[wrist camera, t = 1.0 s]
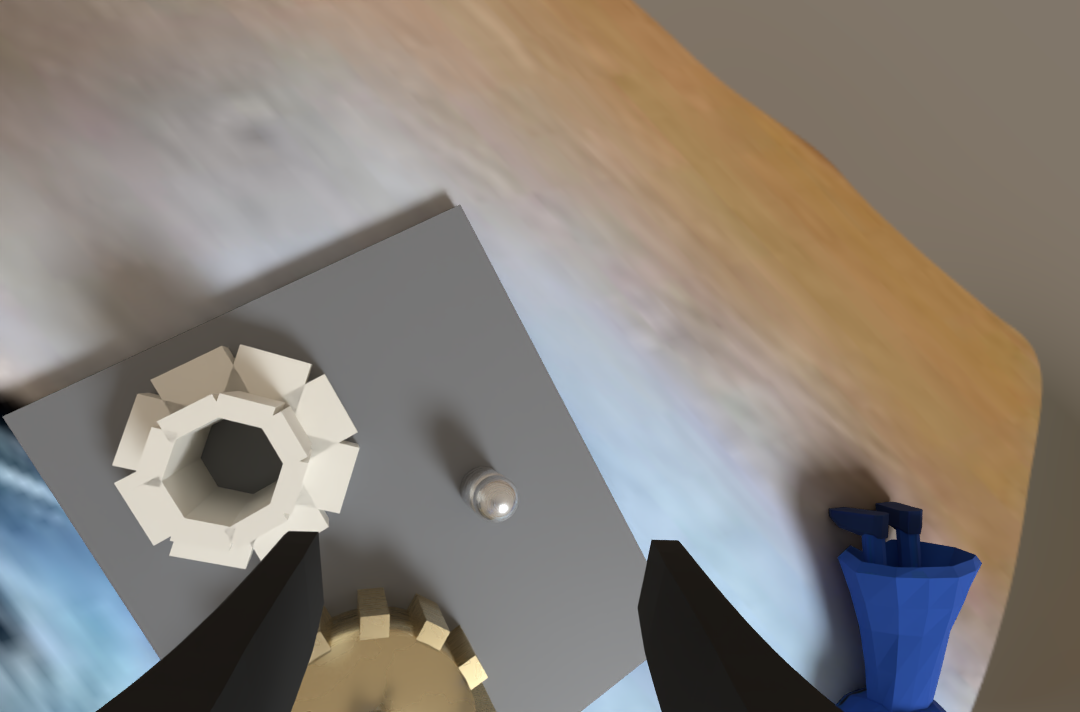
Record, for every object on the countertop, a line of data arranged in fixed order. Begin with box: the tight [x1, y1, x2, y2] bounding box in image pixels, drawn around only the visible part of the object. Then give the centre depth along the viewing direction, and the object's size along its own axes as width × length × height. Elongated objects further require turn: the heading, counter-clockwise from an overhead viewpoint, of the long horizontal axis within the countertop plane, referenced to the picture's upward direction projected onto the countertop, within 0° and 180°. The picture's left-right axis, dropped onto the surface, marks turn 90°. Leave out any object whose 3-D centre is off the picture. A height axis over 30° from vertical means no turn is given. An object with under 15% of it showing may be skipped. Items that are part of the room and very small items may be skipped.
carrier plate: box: [3, 205, 647, 712], centre depth 26 cm, size 18×22×1 cm
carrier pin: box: [460, 466, 519, 523], centre depth 25 cm, size 2×2×3 cm
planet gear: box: [112, 344, 359, 569], centre depth 21 cm, size 8×8×6 cm
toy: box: [829, 502, 982, 712], centre depth 31 cm, size 7×6×15 cm
